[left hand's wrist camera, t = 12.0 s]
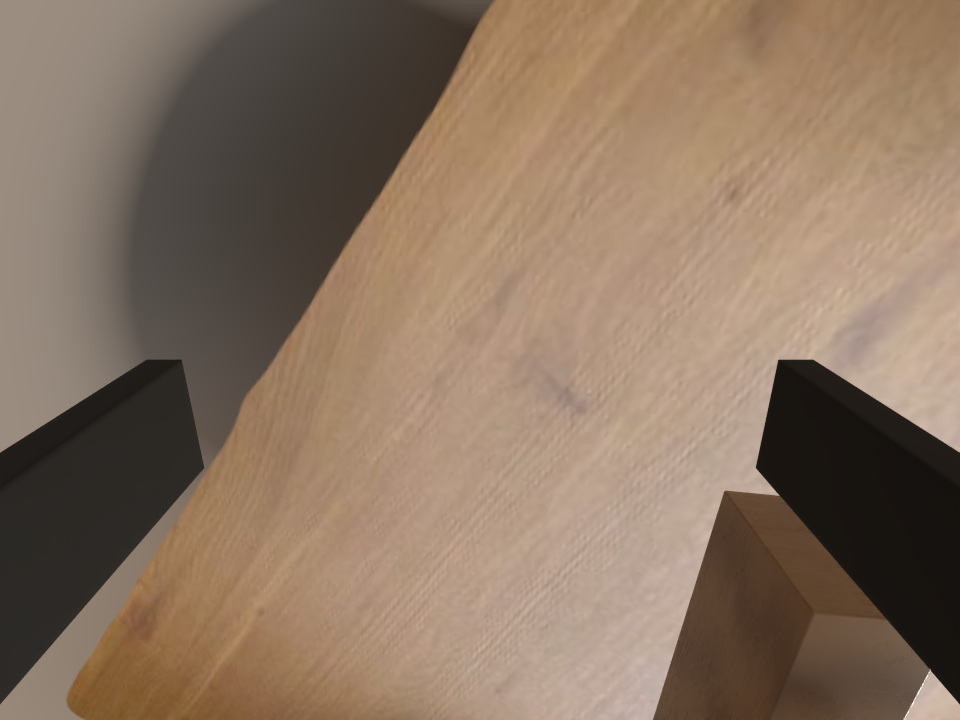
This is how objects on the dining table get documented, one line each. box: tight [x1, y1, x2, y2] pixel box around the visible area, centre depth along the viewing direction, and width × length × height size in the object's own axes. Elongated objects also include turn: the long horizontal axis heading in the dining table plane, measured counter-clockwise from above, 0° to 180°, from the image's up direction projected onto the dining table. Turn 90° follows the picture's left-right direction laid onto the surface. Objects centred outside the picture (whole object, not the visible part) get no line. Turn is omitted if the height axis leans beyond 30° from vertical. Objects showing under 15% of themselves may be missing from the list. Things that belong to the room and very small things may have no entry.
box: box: [653, 491, 931, 720], centre depth 31 cm, size 21×6×9 cm, turn 174°
